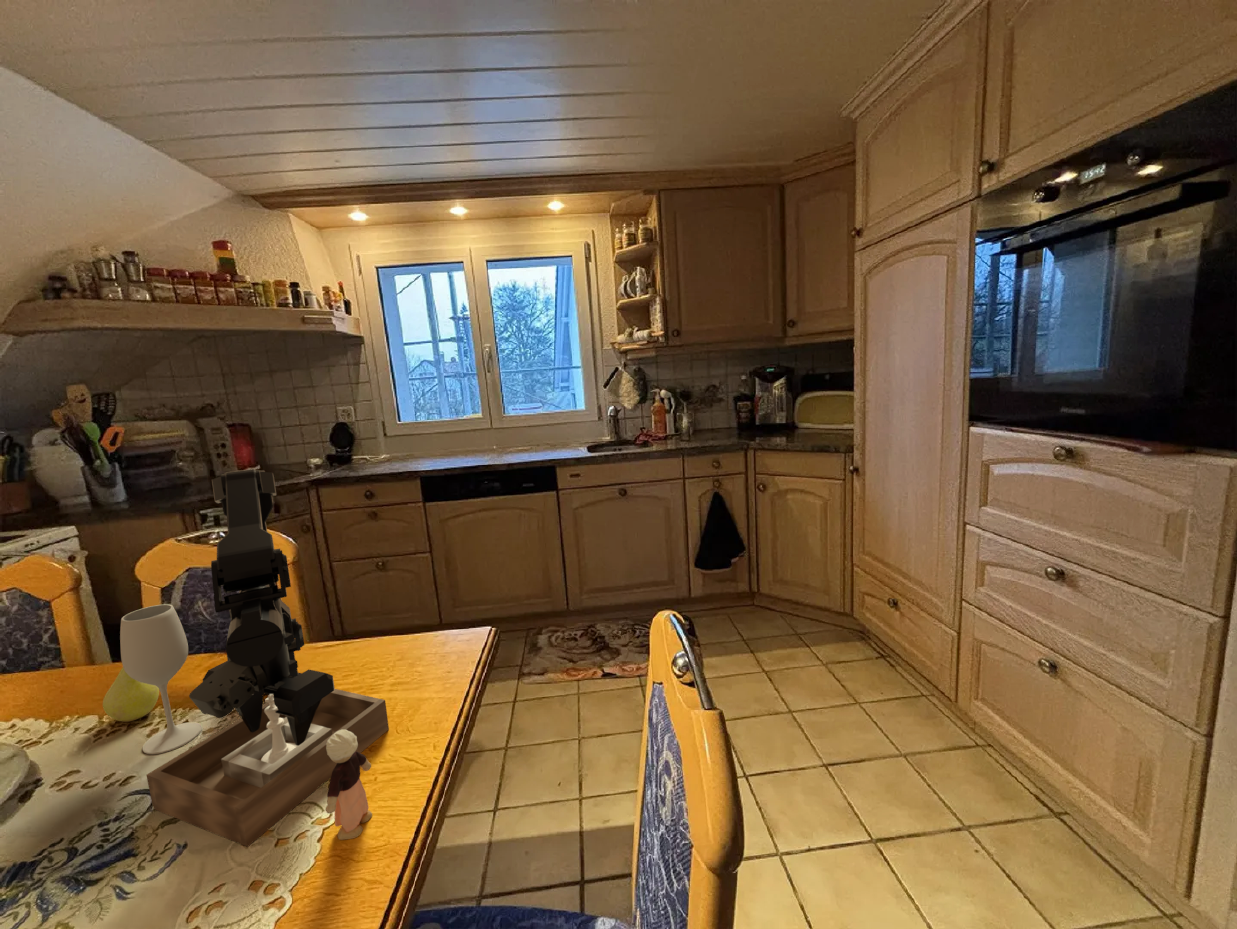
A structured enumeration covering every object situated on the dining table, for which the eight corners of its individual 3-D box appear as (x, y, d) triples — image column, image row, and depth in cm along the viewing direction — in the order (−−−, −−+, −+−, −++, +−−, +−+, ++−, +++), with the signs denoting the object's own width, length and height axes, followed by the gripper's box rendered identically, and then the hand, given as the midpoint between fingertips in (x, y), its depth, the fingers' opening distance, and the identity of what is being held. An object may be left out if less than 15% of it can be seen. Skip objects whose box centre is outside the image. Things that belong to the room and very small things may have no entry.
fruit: (99, 725, 87) (83, 658, 85) (152, 699, 94) (138, 636, 92) (123, 733, 84) (108, 664, 82) (176, 705, 91) (163, 641, 89)
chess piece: (282, 773, 72) (271, 706, 71) (251, 769, 73) (240, 704, 72) (309, 748, 77) (299, 685, 75) (280, 745, 78) (270, 683, 76)
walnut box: (153, 809, 68) (146, 774, 67) (306, 708, 88) (301, 681, 88) (247, 846, 62) (240, 809, 61) (388, 729, 82) (385, 700, 81)
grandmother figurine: (350, 804, 67) (336, 715, 65) (380, 801, 68) (368, 712, 66) (321, 858, 60) (305, 758, 58) (356, 854, 60) (341, 755, 58)
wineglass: (151, 761, 77) (123, 628, 74) (133, 744, 81) (105, 617, 78) (212, 731, 84) (188, 607, 80) (192, 717, 88) (169, 598, 84)
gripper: (149, 654, 68) (171, 762, 70) (247, 676, 61) (267, 795, 64) (237, 616, 78) (254, 712, 81) (329, 632, 71) (344, 736, 74)
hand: (277, 737), depth 74 cm, fingers open, 9 cm apart
